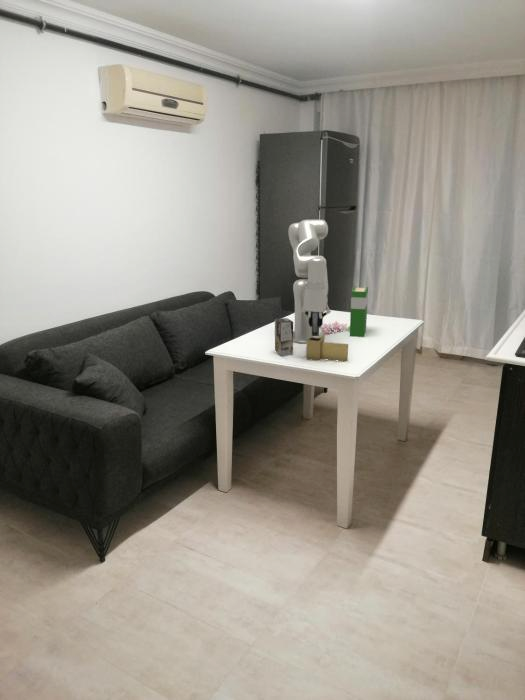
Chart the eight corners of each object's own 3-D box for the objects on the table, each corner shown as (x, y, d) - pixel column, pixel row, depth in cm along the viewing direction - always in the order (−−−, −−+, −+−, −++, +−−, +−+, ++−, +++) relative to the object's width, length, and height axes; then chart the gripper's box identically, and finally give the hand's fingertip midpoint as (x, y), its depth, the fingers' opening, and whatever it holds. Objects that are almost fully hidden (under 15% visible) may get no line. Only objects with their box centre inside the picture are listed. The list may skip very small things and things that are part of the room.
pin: (310, 335, 248) (311, 303, 244) (312, 334, 251) (313, 301, 247) (317, 336, 247) (318, 303, 243) (319, 334, 250) (320, 302, 246)
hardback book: (352, 328, 307) (354, 286, 301) (366, 329, 306) (368, 286, 299) (349, 336, 291) (351, 291, 284) (363, 337, 289) (365, 292, 283)
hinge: (306, 359, 250) (306, 340, 248) (317, 349, 266) (317, 331, 264) (345, 363, 244) (346, 343, 241) (354, 352, 260) (354, 334, 258)
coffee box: (293, 355, 257) (293, 321, 252) (280, 356, 255) (280, 322, 251) (287, 350, 265) (287, 317, 261) (274, 351, 263) (274, 318, 259)
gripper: (296, 286, 242) (295, 326, 247) (332, 288, 237) (331, 329, 242) (300, 283, 249) (300, 323, 254) (336, 285, 243) (335, 326, 248)
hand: (315, 326), depth 248 cm, fingers closed on pin, 3 cm apart
